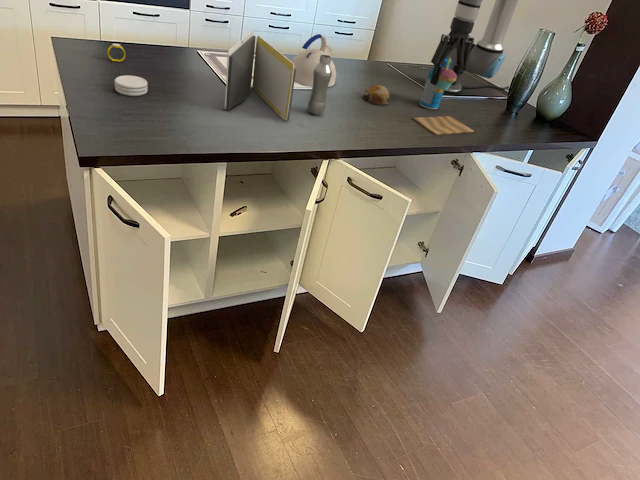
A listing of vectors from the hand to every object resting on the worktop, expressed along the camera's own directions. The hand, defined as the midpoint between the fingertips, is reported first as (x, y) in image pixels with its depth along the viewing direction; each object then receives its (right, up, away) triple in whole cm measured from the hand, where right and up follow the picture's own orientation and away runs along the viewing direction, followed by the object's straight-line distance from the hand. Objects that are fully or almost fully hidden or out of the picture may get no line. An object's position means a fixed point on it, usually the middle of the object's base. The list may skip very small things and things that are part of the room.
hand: (442, 84), depth 176 cm
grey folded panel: (-71, -9, -9) cm, 72 cm away
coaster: (-107, -9, -19) cm, 109 cm away
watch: (-120, +8, 0) cm, 121 cm away
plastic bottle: (-47, -12, -5) cm, 49 cm away
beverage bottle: (0, -1, +25) cm, 25 cm away
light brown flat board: (+2, -13, +9) cm, 16 cm away
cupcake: (0, -1, +1) cm, 2 cm away
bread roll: (-23, -1, +18) cm, 29 cm away
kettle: (-49, +10, +25) cm, 56 cm away
